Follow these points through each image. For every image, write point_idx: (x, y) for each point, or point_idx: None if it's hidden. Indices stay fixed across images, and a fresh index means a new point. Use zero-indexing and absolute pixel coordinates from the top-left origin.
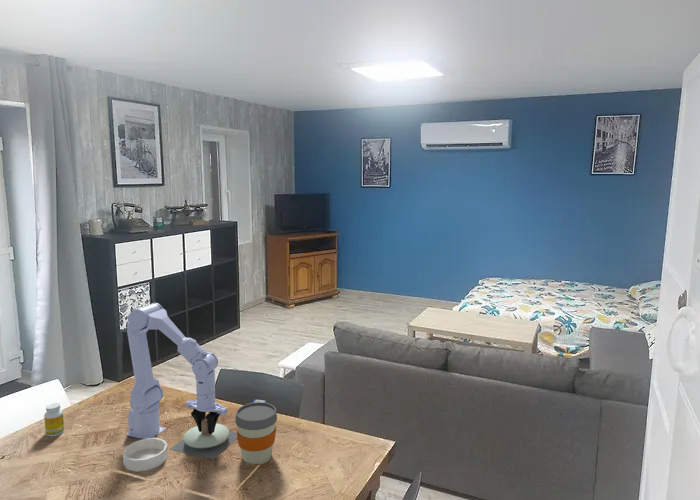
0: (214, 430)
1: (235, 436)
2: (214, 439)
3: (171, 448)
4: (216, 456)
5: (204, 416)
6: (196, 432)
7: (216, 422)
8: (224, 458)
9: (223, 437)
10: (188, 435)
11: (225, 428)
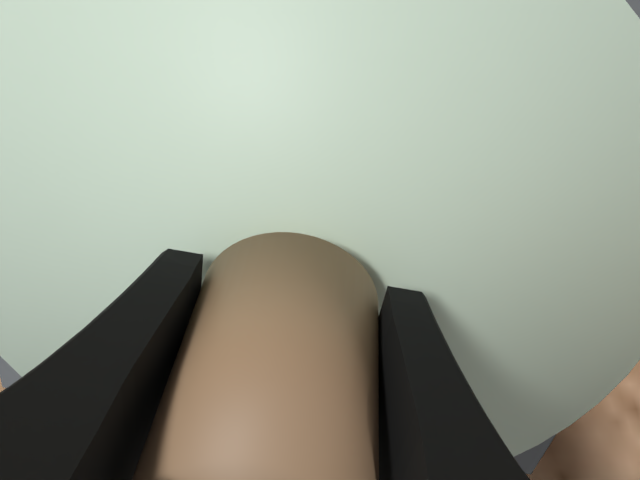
0: (429, 305)
1: None
2: (484, 385)
3: (6, 377)
4: (551, 437)
5: (100, 460)
6: (100, 265)
7: (492, 424)
8: (635, 414)
9: (617, 330)
10: (50, 344)
11: (592, 51)
